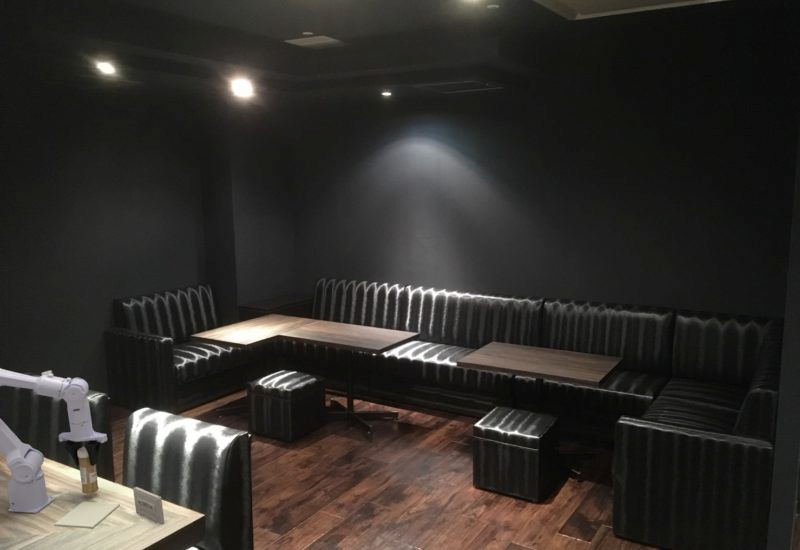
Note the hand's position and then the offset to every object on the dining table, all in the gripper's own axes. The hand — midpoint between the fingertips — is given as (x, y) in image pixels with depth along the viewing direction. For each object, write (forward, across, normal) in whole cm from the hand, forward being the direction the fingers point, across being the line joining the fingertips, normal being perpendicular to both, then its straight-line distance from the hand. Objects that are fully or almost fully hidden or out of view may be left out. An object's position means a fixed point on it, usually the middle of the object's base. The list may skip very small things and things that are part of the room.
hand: (86, 463), depth 194 cm
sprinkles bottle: (+9, 0, 0) cm, 9 cm away
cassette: (+11, -25, +9) cm, 28 cm away
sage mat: (+10, -6, +10) cm, 16 cm away
